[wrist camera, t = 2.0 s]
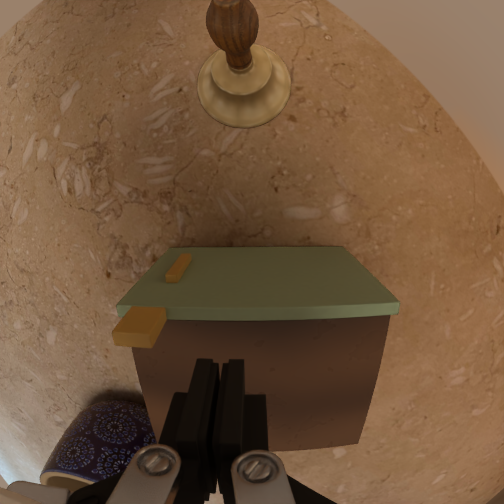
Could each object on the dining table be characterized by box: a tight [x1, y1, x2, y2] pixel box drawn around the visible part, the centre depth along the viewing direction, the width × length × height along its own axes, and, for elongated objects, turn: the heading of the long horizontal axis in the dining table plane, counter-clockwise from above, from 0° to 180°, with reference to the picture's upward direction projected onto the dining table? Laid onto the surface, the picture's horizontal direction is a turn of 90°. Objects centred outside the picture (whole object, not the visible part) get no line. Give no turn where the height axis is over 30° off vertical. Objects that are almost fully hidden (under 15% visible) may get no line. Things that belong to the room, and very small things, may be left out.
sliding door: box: [112, 246, 400, 348], centre depth 21 cm, size 1×16×16 cm, turn 90°
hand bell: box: [197, 0, 291, 128], centre depth 17 cm, size 8×8×16 cm
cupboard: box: [132, 315, 390, 452], centre depth 25 cm, size 12×16×12 cm
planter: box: [40, 400, 157, 492], centre depth 28 cm, size 16×16×15 cm
